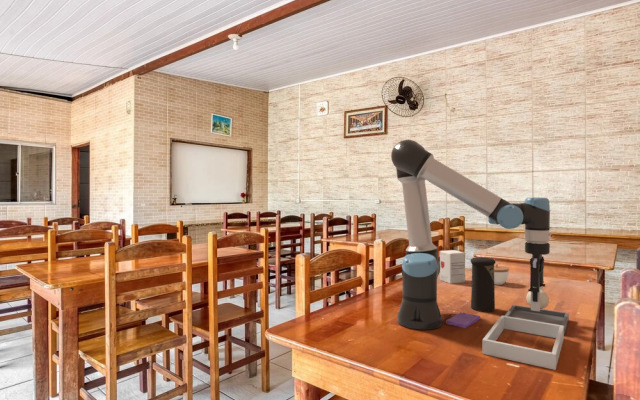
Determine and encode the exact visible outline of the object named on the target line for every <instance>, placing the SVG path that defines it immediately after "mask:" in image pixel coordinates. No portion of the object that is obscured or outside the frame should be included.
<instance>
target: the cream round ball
mask: <svg viewBox="0 0 640 400" xmlns="http://www.w3.org/2000/svg"><path fill="white" fill-rule="evenodd" d="M539 292H540V309H545V308H547V307H548V305H549V303H550V298H549V295H548V294H547V292H546V291H544V290H543V291H542V290H540V291H539ZM526 301H527V304H528V305H529V307H531V291H528V292H527V293H526Z"/></svg>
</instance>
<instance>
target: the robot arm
mask: <svg viewBox="0 0 640 400" xmlns="http://www.w3.org/2000/svg"><path fill="white" fill-rule="evenodd" d="M390 154H391V155H390V157H391V162H392V164H393V166H394V167H395V168H396V169H395V170H396V177H397V178H396V179H397V181H398V182H400V183H401V185H402V195H403V196H402V197H403V203H404V204H403V205H404V211H405V222H406V228H407V237H408V246H407V248H406V249H405V256H403V258H402V262H401V269H402V299H401V300H402V301H401V303H400V306H399V310H398V313H397V323H398V324H399V325H400V326H402V327H405V328H408V329H413V330H419V331H421V330H424V331H425V330H427V331H428V330H436V329H438V328H440V327H442V325H443V316H442V314H441V311H440V307H439V304H438V300H437V299H438V297H437V296H438V291H437V290H438V288H437V287H438V277H439V276H440V258H439V252H438V247H437V245H435V244H434V243H433V239H432V230H431V221H430V214H429V212H430V211H429V205H428V204H429V203H428V195H427V188H426V187H427V186H426V181H427V182H428V183H431V184H432V185H434V186H435V187H436V188H439V189H440V190H441V191H444V192H445V193H447V194H449V195H450V196H452V197H454V198H455V199H458V201H460V202H462V203H464V204H466V205H467V206H469V207H471V208H472V209H474V210H475V211H477V212H479V213H481V214H482V215H484V216H485V217H487V220H488V221H487V222H488V223H489V224H491V225H499V226H501V227H502V228H504V229H507V230H512V229H516V228H519V227H520V226H521V225H522V226H523V225H524V226H525V227H524V241H525V243H524V252H525V253H526V254H530V255H532V256H531V257H530V258H529V264H530V276H529V278H530V280H529V281H530V283H529V286H530V287H529V289H528V292H529V291H531V306H530V307H531V310H533V311H540V292H539V291H540V290H542V291H544V288H545V287H546V284H545V281H544V268H545V267H544V264H545V257H544V256H543V255H545V256H546V255H549V254H550V251H551V250H550V248H551V246H550V243H549V242H550V237H551V236H552V232H550V231H551V229H550V226H551V224H550V223H551V222H550V221H551V210H550V209H551V207H550V206H551V205H550V200H549V199H548V198H547V197H535V196H534V197H526V198H525V199H524V202H520V203H516V202H515V203H513V202H511V203H510V202H509V201H507V200H505V199H503V198H502V197H501V196H499V195H497V194H495V193H493V192H492V191H490V190H488V189H487V188H485V187H483V186H482V185H480V184H478V183H477V182H476V181H473V180H472V179H470V178H469V177H466V176H464V175H463V174H461V173H459V171H456V170H455V169H452V168H451V167H449V166H447V165H446V164H444V163H442V162H440V161H439V160H437V159H435V157H434V154H433V153H431V152H429V151H428V150H427V149H425V146H423V145H422V144H420V143H418V142H417V141H415V140H414V139H404V140H400V141H399V142H397V143H396V144H395V146H393V148H392V150H391V153H390Z"/></svg>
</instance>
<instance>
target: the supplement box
mask: <svg viewBox="0 0 640 400" xmlns="http://www.w3.org/2000/svg"><path fill="white" fill-rule="evenodd" d="M439 262H440V273H439V281H441V282H445V283H448V284H450V285H453V284H461V283H465V282H466V252H464V251H459V250H456V249H455V250H454V249H449V250H439Z"/></svg>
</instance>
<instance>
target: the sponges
mask: <svg viewBox="0 0 640 400" xmlns="http://www.w3.org/2000/svg"><path fill="white" fill-rule="evenodd" d="M480 319H481V316H480V315H476V314H470V313H465V312H460V313H457V314H455V315H454V316H452V317H450V318H448V319H446V321H445V323H446V325H450V326H455V327H458V328H461V329H462V328H463V329H467V328H469V327H470V326H472V325H473V324H475V323H476V322H478V321H479V320H480Z"/></svg>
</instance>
